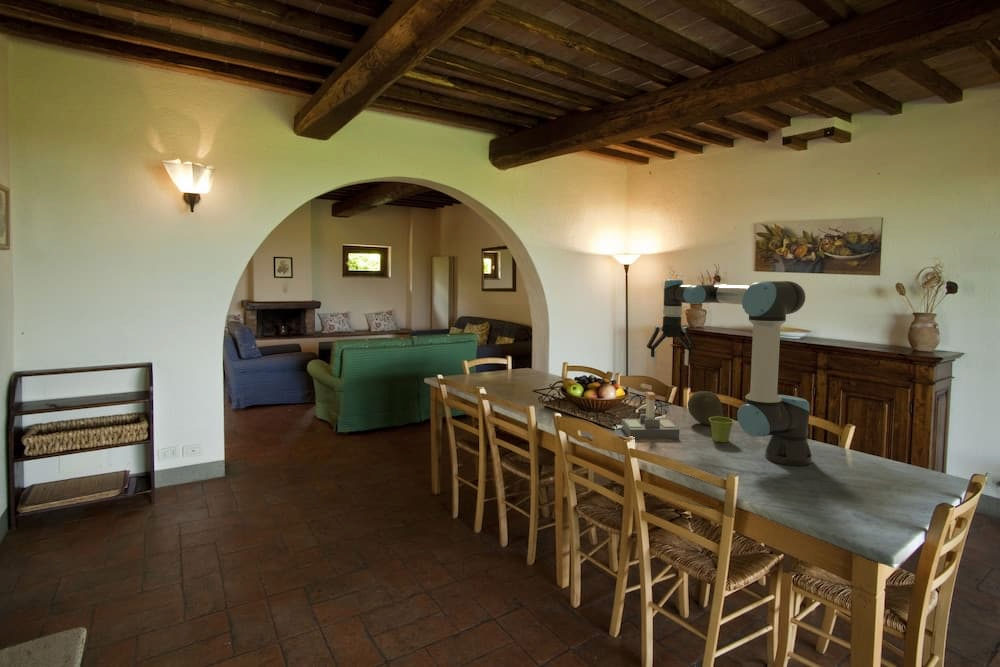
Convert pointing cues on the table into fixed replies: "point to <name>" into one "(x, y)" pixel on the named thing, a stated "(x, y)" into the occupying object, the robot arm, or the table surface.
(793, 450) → the robot arm
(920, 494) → the table surface
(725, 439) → the plant pot
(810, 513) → the table surface
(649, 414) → the toggle lever
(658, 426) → the switch box
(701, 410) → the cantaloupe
